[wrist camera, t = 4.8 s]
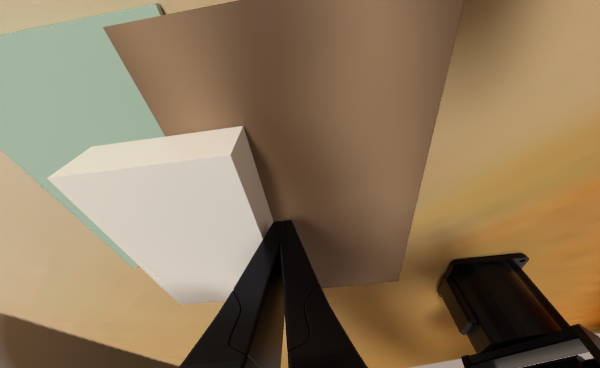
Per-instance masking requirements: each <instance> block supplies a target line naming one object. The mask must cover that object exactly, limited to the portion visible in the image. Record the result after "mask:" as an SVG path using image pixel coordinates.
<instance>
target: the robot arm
mask: <svg viewBox="0 0 600 368" xmlns="http://www.w3.org/2000/svg"><path fill="white" fill-rule="evenodd" d="M528 260H529V258H528V257H527V256H526V255H525V254H514V255H503V256H493V257H483V258H473V259H463V260H455V261H453V262H452V263H451V264H450V266H449V268H448V271H447V273H446V275H445V277H444V279H443V281H442V283H441V285H440V287H439V290H438V292H437V293H438V295H439V296H440V297H442V298H443V300H444V302H445V304H446V306H447V308H448V310H449V312H450V314H451V316H452V318H453V320H454V322H455V324H456V326H457V328H458V329H459V331H460V333H461V334H463V335H467V336H468V338H469V340H470V341H471V343H472V345H473V347H474V349H475V351H476V353H477V354H474V355H465V356H462V357H461V358H462V361H463V364H464V368H519V367H523V368H600V338H599V336H597V335H596V334H594V333H592V332H591V331H589V330H588V329H586V328H585V327H583V326H581V325H580V324H576V325H573V326H570V325H569V324H568V323H567V322H566V321H565V319H564V318H563V317H562V316H561V315H560V314H559V312H558V311H557V310H556V309H555V308H554V307H553V305H552V304H551V303H550V302H549V301H548V299H547V298H546V297H545V296H544V295H543V294H542V292H541V291H540V290H539V289H538V288H537V287H536V285H535V284H534V283H533V282H532V281H531V279H530V278H529V277H528V276H527V275H526V274H525V272H524V271H523V270H522V267H523V266H524V265H525V264H526V263H527V261H528ZM233 290H234V291H232V292H231V293H230V295H229V297H228V299H227V300H226V302H225V303H224V305H223V306H222V308H221V310H220V311H219V313H218V314H217V316H216V317H215V318H214V320H213V321H212V323H211V324H210V326H209V327H208V328H207V330H206V331H205V333H204V334H203V335H202V337H201V338H200V339H199V341H198V342H197V343H196V345H195V346H194V348H193V349H192V350H191V352H190V353H189V354H188V356H187V357H186V359H185V360H184V361H183V363H182V364H181V365H180V366H179V367H178V368H280V367H281V354H282V342H283V329H284V316H285V323H286V336H287V350H288V366H289V368H368V367H367V365H366V364H365V363H364V361H363V360H362V358H361V357H360V355H359V354H358V352H357V350H356V349H355V347H354V345H353V344H352V342H351V340H350V339H349V337H348V336H347V334H346V332H345V331H344V329H343V327H342V326H341V324H340V322H339V321H338V319H337V317H336V316H335V314H334V312H333V310H332V308H331V307H330V305H329V303H328V301H327V299H326V297H325V295H324V293H323V290H322V288H321V286H320V283H319V282H318V279H317V277H316V274H315V272H314V270H313V268H312V265H311V263H310V261H309V258H308V256H307V254H306V251H305V249H304V247H303V244H302V242H301V240H300V238H299V235H298V233H297V231H296V228H295V226H294V224H293V221H292V220H283V221H274V222H273V223H272V225H271V227H270V228H269V230H268V232H267V233H266V235H265V237H264V238H263V240H262V242H261V243H260V245H259V247H258V248H257V250H256V252H255V253H254V255H253V257H252V258H251V260H250V262H249V263H248V265H247V267H246V268H245V270H244V272H243V274H242V275H241V277H240V279H239V280H238V282H237V284H236V285H235V287H234V289H233ZM586 352H590V353H591V354H592V356H593V357H594V358H593V359H588V360H585V359H583V358H582V357H580V356H578V355H577V354H582V353H586ZM573 355H576V356H573ZM568 356H572V357H568ZM564 357H567V358H564ZM559 358H563V359H559ZM555 359H558V360H555ZM550 360H554V361H550ZM546 361H549V362H546ZM541 362H545V363H541ZM537 363H540V364H537ZM533 364H536V365H533ZM528 365H531V366H528ZM524 366H527V367H524Z"/></svg>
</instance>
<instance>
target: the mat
mask: <svg viewBox="0 0 600 368" xmlns="http://www.w3.org/2000/svg"><path fill="white" fill-rule="evenodd" d="M162 15H164V14H163V12H162V10H161V7H160V5H159V4H151V5H146V6H141V7H136V8H132V9H127V10H122V11H117V12H112V13H107V14H102V15H97V16H92V17H87V18H82V19H77V20H72V21H67V22H62V23H57V24H52V25H47V26H42V27H37V28H32V29H27V30H22V31H17V32H12V33H7V34H2V35H0V150H2V151H3V152H4V153H5V154H6V155H7V156H8V157H9V158H10V159H12V160H13V161H14V162H15V163H16V164H17V165H18V166H19V167H21V168H22V169H23V170H24V171H25V172H26V173H27V174H28V175H29V176H31V177H32V178H33V179H34V180H35V181H36V182H37V183H38V184H39V185H41V186H42V187H43V188H44V189H45V190H46V191H47V192H48V193H50V194H51V195H52V196H53V197H54V198H55V199H56V200H57V201H58V202H60V203H61V204H62V205H63V206H64V207H65V208H66V209H67V210H68V211H70V212H71V213H72V214H73V215H74V216H75V217H76V218H77V219H79V220H80V221H81V222H82V223H83V224H84V225H85V226H86V227H87V228H89V229H90V230H91V231H92V232H93V233H94V234H95V235H96V236H98V237H99V238H100V239H101V240H102V241H103V242H104V243H105V244H106V245H108V246H109V247H110V248H111V249H112V250H113V251H114V252H115V253H116V254H118V255H119V256H120V257H121V258H122V259H123V260H124V261H125V262H127V263H128V264H129V265H130V266H131V267H132V268H134V267H140V266H139V265H138V264H137V263H136V262H135V261H133V260H132V259H131V258H130V257H129V256H128V255H127V254H126V253H125V252H124V251H123V250H122V249H121V248H120V247H119V246H118V245H117V244H116V243H114V242H113V241H112V240H111V239H110V238H109V237H108V236H107V235H106V234H105V233H104V232H103V231H102V230H101V229H100V228H99V227H98V226H97V225H96V224H94V223H93V222H92V221H91V220H90V219H89V218H88V217H87V216H86V215H85V214H84V213H83V212H82V211H81V210H80V209H79V208H78V207H77V206H75V205H74V204H73V203H72V202H71V201H70V200H69V199H68V198H67V197H66V196H65V195H64V194H63V193H62V192H61V191H60V190H59V189H58V188H56V187H55V186H54V185H53V184H52V183H51V182H50V181H49V180H48V179H47V178H48V177H49V176H51V175H52V174H54V173H55V172H56V171H58V170H59V169H61V168H62V167H64V166H65V165H66V164H68V163H69V162H71V161H72V160H73V159H75V158H76V157H78V156H79V155H80V154H82V153H83V152H85V151H86V150H88V149H89V148H90V147H93V146H100V145H107V144H115V143H122V142H129V141H136V140H144V139H151V138H158V137H165V135H164V133H163V132H162V130H161V128H160V126H159V125H158V123H157V121H156V119H155V118H154V116H153V114H152V112H151V111H150V109H149V107H148V105H147V104H146V102H145V100H144V98H143V97H142V95H141V93H140V91H139V90H138V88H137V86H136V85H135V83H134V81H133V79H132V78H131V76H130V74H129V72H128V71H127V69H126V67H125V65H124V64H123V62H122V60H121V58H120V57H119V55H118V53H117V51H116V50H115V48H114V46H113V44H112V43H111V41H110V39H109V37H108V36H107V34H106V32H105V30H104V29H103V27H106V26H111V25H116V24H122V23H127V22H132V21H137V20H142V19H147V18H152V17H157V16H162Z"/></svg>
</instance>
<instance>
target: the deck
mask: <svg viewBox="0 0 600 368" xmlns="http://www.w3.org/2000/svg"><path fill="white" fill-rule="evenodd" d="M463 3H464V0H239V1H234V2H228V3H223V4H218V5H213V6H208V7H203V8H198V9H193V10H188V11H183V12H178V13H172V14H167V15H162V16H157V17H152V18H147V19H142V20H137V21H132V22H127V23H122V24H116V25H111V26H106V27H103V29H104V30H105V32H106V34H107V36H108V37H109V39H110V41H111V43H112V44H113V46H114V48H115V50H116V51H117V53H118V55H119V57H120V58H121V60H122V62H123V64H124V65H125V67H126V69H127V71H128V72H129V74H130V76H131V78H132V79H133V81H134V83H135V85H136V86H137V88H138V90H139V91H140V93H141V95H142V97H143V98H144V100H145V102H146V104H147V105H148V107H149V109H150V111H151V112H152V114H153V116H154V118H155V119H156V121H157V123H158V125H159V126H160V128H161V130H162V132H163V133H164V135H165V137H166V136H173V135H180V134H187V133H195V132H202V131H209V130H217V129H224V128H231V127H238V126H243V127H244V130H245V133H246V137H247V140H248V143H249V146H250V149H251V152H252V155H253V159H254V162H255V165H256V168H257V171H258V174H259V178H260V181H261V184H262V187H263V190H264V193H265V197H266V200H267V203H268V206H269V209H270V212H271V216H272V219H273V222H274V221H283V220H292V221H293V224H294V226H295V228H296V231H297V233H298V235H299V238H300V240H301V242H302V244H303V247H304V249H305V251H306V254H307V256H308V258H309V261H310V263H311V265H312V268H313V270H314V272H315V274H316V277H317V279H318V282H319V283H320V286H321V288H328V287H339V286H350V285H360V284H371V283H382V282H392V281H398V279H399V275H400V271H401V267H402V262H403V258H404V254H405V250H406V245H407V241H408V237H409V233H410V229H411V224H412V220H413V216H414V212H415V207H416V203H417V199H418V195H419V190H420V186H421V182H422V178H423V173H424V169H425V165H426V161H427V156H428V152H429V148H430V144H431V139H432V135H433V131H434V127H435V122H436V118H437V114H438V110H439V105H440V101H441V97H442V93H443V88H444V84H445V80H446V76H447V71H448V67H449V63H450V59H451V54H452V50H453V46H454V42H455V37H456V33H457V29H458V25H459V20H460V16H461V12H462V8H463Z"/></svg>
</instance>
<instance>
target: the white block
mask: <svg viewBox="0 0 600 368" xmlns="http://www.w3.org/2000/svg"><path fill="white" fill-rule="evenodd" d="M47 179H48V180H49V181H50V182H51V183H52V184H53V185H54V186H55V187H56V188H58V189H59V190H60V191H61V192H62V193H63V194H64V195H65V196H66V197H67V198H68V199H69V200H70V201H71V202H72V203H73V204H74V205H75V206H77V207H78V208H79V209H80V210H81V211H82V212H83V213H84V214H85V215H86V216H87V217H88V218H89V219H90V220H91V221H92V222H93V223H94V224H96V225H97V226H98V227H99V228H100V229H101V230H102V231H103V232H104V233H105V234H106V235H107V236H108V237H109V238H110V239H111V240H112V241H113V242H114V243H116V244H117V245H118V246H119V247H120V248H121V249H122V250H123V251H124V252H125V253H126V254H127V255H128V256H129V257H130V258H131V259H132V260H133V261H135V262H136V263H137V264H138V265H139V266H140V267H141V268H142V269H143V270H144V271H145V272H146V273H147V274H148V275H149V276H150V277H151V278H152V279H154V280H155V281H156V282H157V283H158V284H159V285H160V286H161V287H162V288H163V289H164V290H165V291H166V292H167V293H168V294H169V295H170V296H171V297H172V298H174V299H175V300H176V301H177V302H178V303H179V304H193V303H207V302H221V301H226V300H227V299H228V297H229V295H230V293H231V292H232V291H234V290H233V289H234V287H235V285H236V284H237V282H238V280H239V279H240V277H241V275H242V274H243V272H244V270H245V268H246V267H247V265H248V263H249V262H250V260H251V258H252V257H253V255H254V253H255V252H256V250H257V248H258V247H259V245H260V243H261V242H262V240H263V238H264V237H265V235H266V233H267V232H268V230H269V228H270V227H271V225H272V223H273V219H272V216H271V212H270V209H269V206H268V203H267V200H266V197H265V193H264V190H263V187H262V184H261V181H260V178H259V174H258V171H257V168H256V165H255V162H254V159H253V155H252V152H251V149H250V146H249V143H248V140H247V137H246V133H245V130H244V127H243V126H238V127H231V128H224V129H217V130H209V131H202V132H195V133H187V134H180V135H173V136H166V137H158V138H151V139H144V140H136V141H129V142H122V143H115V144H107V145H100V146H93V147H90V148H89V149H88V150H86V151H85V152H83V153H82V154H80V155H79V156H78V157H76V158H75V159H73V160H72V161H71V162H69V163H68V164H66V165H65V166H64V167H62V168H61V169H59V170H58V171H56V172H55V173H54V174H52V175H51V176H49V177H48V178H47Z"/></svg>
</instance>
